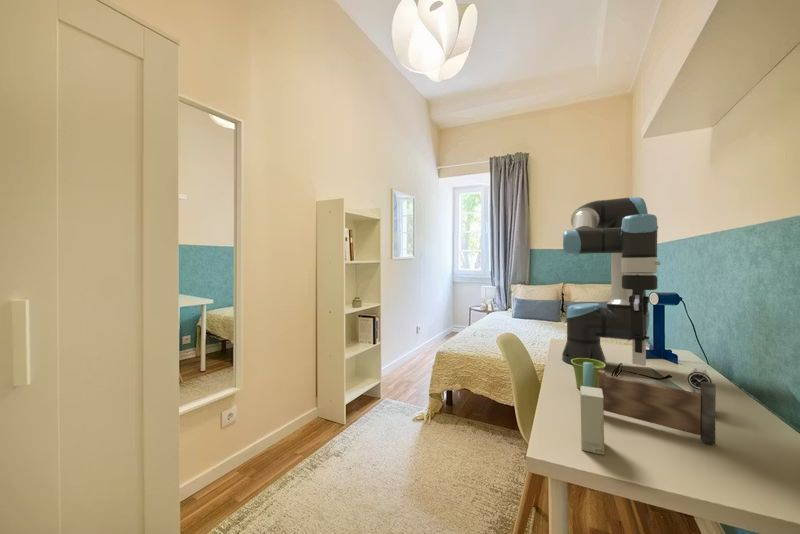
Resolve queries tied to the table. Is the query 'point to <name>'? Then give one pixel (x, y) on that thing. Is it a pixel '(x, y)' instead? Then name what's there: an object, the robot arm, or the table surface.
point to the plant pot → (579, 370)
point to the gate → (662, 404)
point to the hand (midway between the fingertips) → (639, 364)
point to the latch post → (588, 374)
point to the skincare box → (592, 419)
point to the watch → (697, 379)
